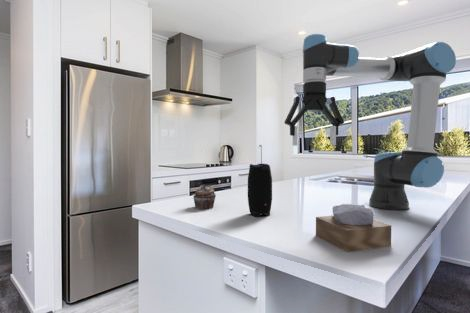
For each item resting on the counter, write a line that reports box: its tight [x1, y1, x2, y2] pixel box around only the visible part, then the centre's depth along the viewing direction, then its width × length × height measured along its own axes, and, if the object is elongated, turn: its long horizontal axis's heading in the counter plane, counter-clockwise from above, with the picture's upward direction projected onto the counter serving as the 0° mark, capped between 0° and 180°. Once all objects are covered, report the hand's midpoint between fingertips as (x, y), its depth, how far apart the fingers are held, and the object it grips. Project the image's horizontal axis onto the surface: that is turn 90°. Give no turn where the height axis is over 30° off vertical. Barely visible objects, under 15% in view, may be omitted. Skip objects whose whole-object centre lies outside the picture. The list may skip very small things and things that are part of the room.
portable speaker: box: [247, 163, 273, 218], centre depth 112 cm, size 9×9×20 cm
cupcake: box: [192, 184, 217, 211], centre depth 125 cm, size 10×10×10 cm
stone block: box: [332, 203, 375, 225], centre depth 83 cm, size 12×5×10 cm
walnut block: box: [315, 214, 392, 253], centre depth 82 cm, size 14×14×6 cm
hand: (314, 145), depth 99 cm, fingers open, 13 cm apart
